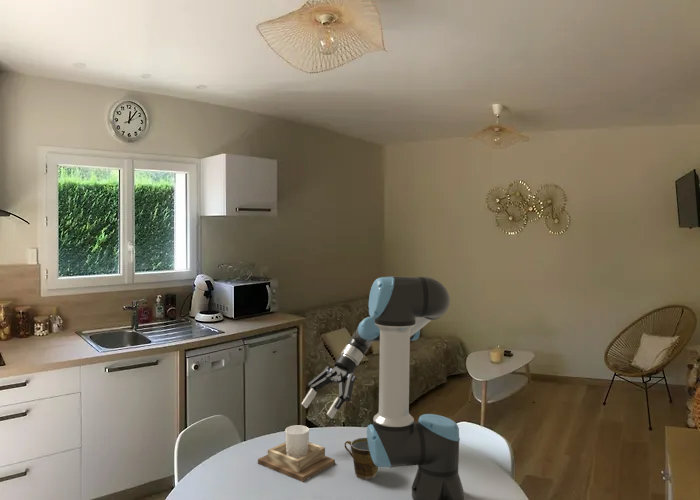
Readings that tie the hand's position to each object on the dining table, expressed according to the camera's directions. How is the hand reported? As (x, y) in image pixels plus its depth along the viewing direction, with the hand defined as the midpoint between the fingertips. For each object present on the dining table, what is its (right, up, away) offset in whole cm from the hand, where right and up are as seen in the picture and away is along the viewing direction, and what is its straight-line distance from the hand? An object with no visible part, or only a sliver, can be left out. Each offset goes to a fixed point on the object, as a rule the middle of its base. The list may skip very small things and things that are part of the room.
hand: (316, 411), depth 178 cm
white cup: (-6, -15, -5) cm, 17 cm away
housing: (-6, -16, -5) cm, 18 cm away
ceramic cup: (+15, -17, -12) cm, 25 cm away
